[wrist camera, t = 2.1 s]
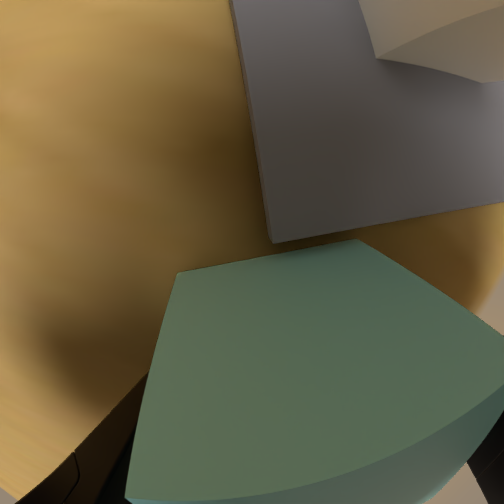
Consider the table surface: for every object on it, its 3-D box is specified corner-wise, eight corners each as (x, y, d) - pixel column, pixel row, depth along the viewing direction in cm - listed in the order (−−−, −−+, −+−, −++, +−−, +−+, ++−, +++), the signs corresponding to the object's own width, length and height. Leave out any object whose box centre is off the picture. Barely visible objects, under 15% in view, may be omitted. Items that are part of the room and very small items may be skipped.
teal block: (353, 368, 9) (432, 497, 4) (218, 400, 9) (232, 559, 3) (355, 237, 8) (530, 358, 2) (177, 272, 7) (124, 497, 2)
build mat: (518, 195, 8) (527, 197, 8) (268, 237, 7) (273, 243, 7) (447, -54, 4) (453, -58, 3) (205, -106, 3) (206, -115, 2)
